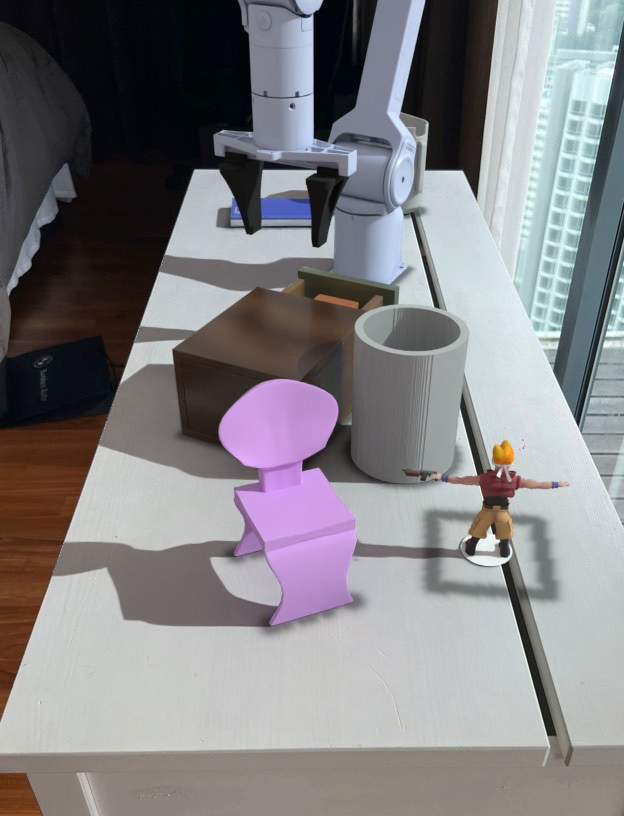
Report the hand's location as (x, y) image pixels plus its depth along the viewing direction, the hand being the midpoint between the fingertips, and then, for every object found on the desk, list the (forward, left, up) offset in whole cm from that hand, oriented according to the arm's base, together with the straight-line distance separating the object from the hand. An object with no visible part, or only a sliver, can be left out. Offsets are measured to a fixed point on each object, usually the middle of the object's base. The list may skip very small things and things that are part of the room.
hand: (286, 237), depth 86 cm
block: (+5, +7, -8) cm, 12 cm away
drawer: (+5, +7, -9) cm, 13 cm away
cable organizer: (-44, -7, -10) cm, 46 cm away
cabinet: (+16, +7, -10) cm, 20 cm away
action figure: (+27, +30, -11) cm, 42 cm away
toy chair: (+36, +19, -10) cm, 42 cm away
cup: (+17, +20, -10) cm, 28 cm away
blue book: (-31, -19, -10) cm, 38 cm away
